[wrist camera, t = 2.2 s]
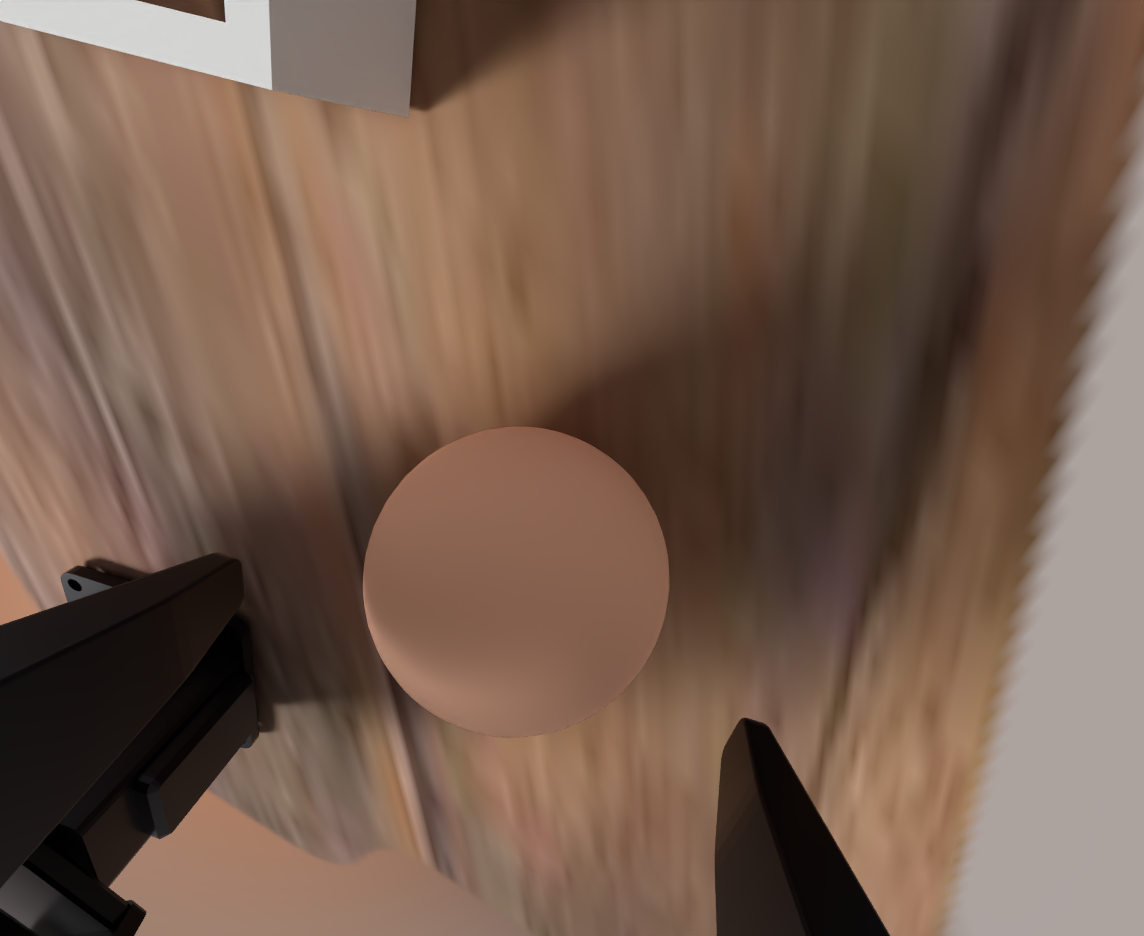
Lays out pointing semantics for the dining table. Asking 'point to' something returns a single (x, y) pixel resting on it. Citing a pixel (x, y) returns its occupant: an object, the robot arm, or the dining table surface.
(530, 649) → the ball
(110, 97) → the dining table surface
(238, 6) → the walled pen
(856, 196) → the dining table surface
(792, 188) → the dining table surface
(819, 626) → the dining table surface
